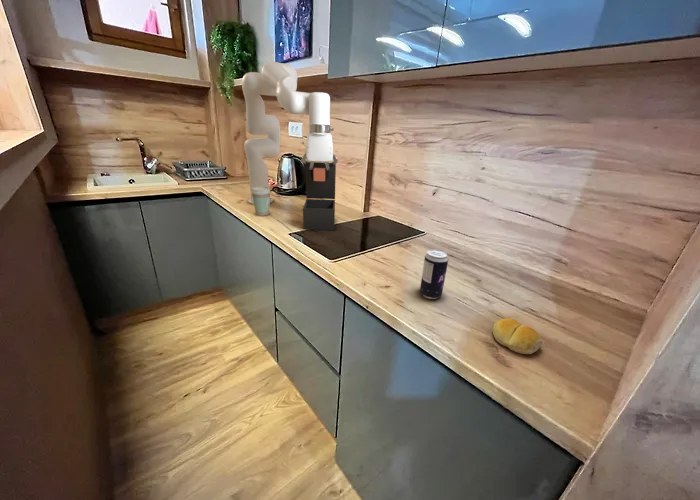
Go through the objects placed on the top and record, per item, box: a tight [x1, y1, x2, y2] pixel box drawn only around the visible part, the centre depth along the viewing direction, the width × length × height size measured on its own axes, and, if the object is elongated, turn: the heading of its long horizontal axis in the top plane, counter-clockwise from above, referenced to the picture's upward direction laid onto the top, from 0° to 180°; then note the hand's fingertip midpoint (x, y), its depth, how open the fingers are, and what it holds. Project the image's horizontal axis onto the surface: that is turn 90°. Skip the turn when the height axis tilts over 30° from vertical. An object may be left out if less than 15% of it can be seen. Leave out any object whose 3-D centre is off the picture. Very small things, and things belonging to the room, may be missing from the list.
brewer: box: [302, 198, 336, 231], centre depth 129 cm, size 16×13×9 cm
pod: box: [314, 168, 326, 181], centre depth 118 cm, size 4×4×4 cm
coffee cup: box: [251, 186, 271, 217], centre depth 138 cm, size 8×8×12 cm
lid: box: [304, 161, 337, 200], centre depth 129 cm, size 16×13×1 cm
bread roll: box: [492, 317, 543, 355], centre depth 63 cm, size 8×9×4 cm
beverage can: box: [419, 249, 449, 300], centre depth 77 cm, size 6×6×12 cm
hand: (319, 179), depth 119 cm, fingers closed on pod, 4 cm apart
